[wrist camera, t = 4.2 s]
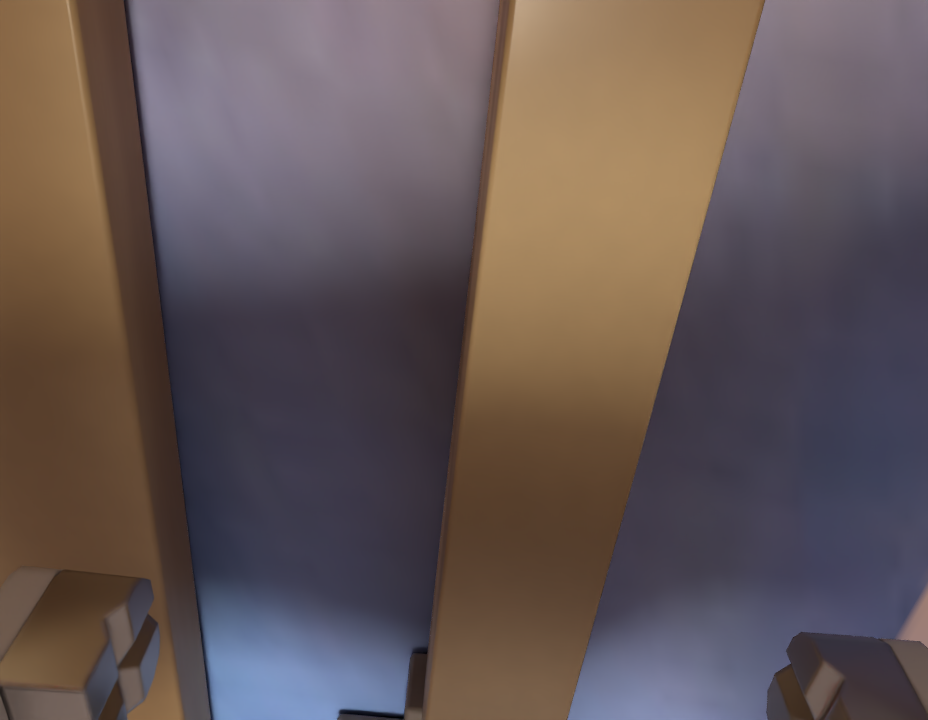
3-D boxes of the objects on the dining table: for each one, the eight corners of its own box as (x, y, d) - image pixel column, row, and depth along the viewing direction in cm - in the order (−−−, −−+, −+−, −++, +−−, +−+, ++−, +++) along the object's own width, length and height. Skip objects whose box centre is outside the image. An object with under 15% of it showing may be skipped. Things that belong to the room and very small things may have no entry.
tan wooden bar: (355, -142, 8) (280, -168, 5) (843, -86, 8) (1035, -80, 5) (336, 833, 17) (306, 1009, 14) (555, 851, 17) (567, 1030, 15)
